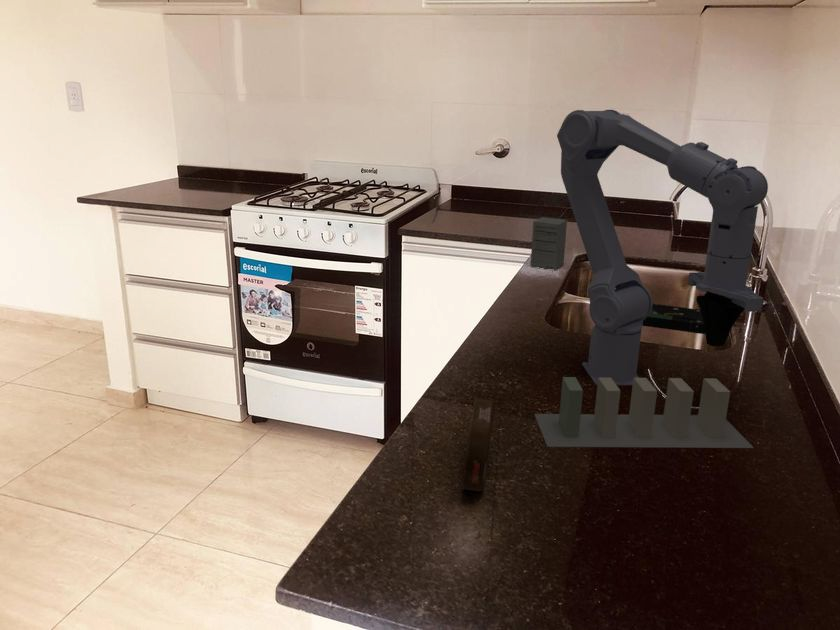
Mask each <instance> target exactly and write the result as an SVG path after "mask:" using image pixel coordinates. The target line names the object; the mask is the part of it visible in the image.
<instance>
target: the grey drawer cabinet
mask: <svg viewBox="0 0 840 630" xmlns="http://www.w3.org/2000/svg"><path fill="white" fill-rule="evenodd" d="M567 224H568V220H567V219H563V218H551V217H544V216H543V217H540V218H538V219H536V220H534V221H533V224H532V237H531V252H530V254H531V255H530V267H531V266H532V267H531V268H533V267H539V268H538V269H540V268H546V269H545V270H547V269H554V270H553V271H557V270H558V269H560V268H561V267H563V266H564V264H565V252H566V251H565V250H566V240H567V239H566V238H567V226H568V225H567ZM562 265H563V266H562ZM556 269H557V270H556Z"/></svg>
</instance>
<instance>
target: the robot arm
mask: <svg viewBox="0 0 840 630" xmlns="http://www.w3.org/2000/svg"><path fill="white" fill-rule="evenodd" d="M556 138H557V140H558V143H559V146H560V149H561V155H560V175H561V179H562V183H563V185H564V188H565V192H566V195H567V198H568V200H569V204H570V207H571V210H572V212H573V215H574V218H575V223H576V225H577V228H578V231H579V235H580V237H581V240H582V243H583V247H584V251H585V253H586V256H587V260H588V262H589V265H590V268H591V271H592V275H593V276H592V278H591V281H590V282H589V285H588V287H587V294H588V297H589V308H588V309H589V315H590V318H591V321H592V323H594V325H593V327H592V329H591V331H590V341H589V350H588V351H589V352H588V361H583V362H582V367H583V368H584V370H585V371H586V373H587V374H588V376H589V377H590V378H591V380H592V382H593V383H594V385H596V386H597V385H598V377H605V378H612V380H613V381H614V382H615V384H616V385H617V386H633V378H640V376H639V375H638V374H637V371H638V370H637V369H638V364H639V363H638V362H639V354H640V347H641V337H642V331H643V330H642V329H643V327H644V326H643V319H644V318H646V317H647V316H648V315H649V314H650V312H651V310H652V306H653V304H654V301H653V297H652V293H651V292H650V291H649V290H648V288H647V287H646V286H645V285H644V284H643V282H642V280H641V278H640V275H639V274H638V272H636V271H635V270H634V269H632V268H631V267H630V266H628V264H627V261H626V258H625V255H624V252H623V249H622V246H621V243H620V240H619V237H618V233H617V230H616V228H615V225H614V221H613V218H612V215H611V213H610V209H609V207H608V203H607V200H606V197H605V194H604V191H603V188H602V185H601V182H600V179H599V177H598V175H599V174H598V173H599V172H600V170H601V168H602V166H603V164H604V163H605V161H607V159H608V158H609V157H610V156H611V155H612V154H613V153H614V152H615V151H616V150H617V148H618V147H620V146H623V147H626V148H628V149H630V150H632V151H635V152H636V153H639V154H640V155H643V156H645V157H647V158H649V159H651V160H654V161H655V162H658V163H660V164H662V165H664V166H666V168H667V171H668V175H669V178H670V179H672V180H674V181H675V182H677V183H679V184H681V185H682V186H685V187H687V188H688V189H691V190H692V191H694V192H695V193H697V194H700V195H701V196H703V197H705V198H707V200H708V201H709V204H710V205H711V207H712V215H711V216H712V217H711V221H710V229H709V230H710V231H709V237H708V243H707V245H708V246H707V250H706V251H707V252H706V257H705V265H704V272H702V271H695V272H694V271H692V272H689V273H688V281H687V285H689V286H690V287H695V289H696V290H698V291H700V292H705V293H704V295H697V296H696V300H695V301H696V302H697V304H698V307H699V309H700V310H701V313H702V316H703V321H704V327H705V334H704V335H705V340H706V344H707V345H709V346H710V347H721V346H722V347H723V346H724V345H725V343H726V341H727V339H728V337H729V335H730V332H731V330H732V328H733V326H734V325H735V323H736V321H737V320H738V318H739V317H740V316H741V315H742V313H744V311H746V312H748V313H751V312H752V313H754V312H756V313H757V312H762V310H763V304H764V303H763V302H764V297H762V296H760V295H758V294H756V292H755V291H754V290H752V289H750V287H748V285H747V280H748V273H749V269H750V268H749V267H750V263H751V261H750V260H751V256H752V249H753V248H752V247H753V242H754V237H755V229H756V222H757V221H756V220H757V215H758V209H759V206H758V205H760V204H761V203H762V202H763V201H764V200H765V199H766V197H767V195H768V190H769V184H768V180H767V178H766V176H765V175H764V173H762V171H760V170H758V169H757V168H756V167H755V166H752V165H746V166H740V167H739V166H738V165H737V164H738V160H736V159H734V158H732V157H730V158H725V157H723V156H721V155H719V154H717V153H715V152H712V151H711V150H708V149H709V147H710V146H709V144H707V143H705V142H703V141H698V142H696V143H695V142H688V143H686V144H683V145H679V144H678V143H676V142H674V141H672V140H671V139H668V138H667V137H665V136H664V135H661V134H660V133H658V132H657V131H655V130H653V129H651V128H649V127H648V126H646V125H645V124H643V123H641V122H639V121H637V120H636V119H635V118H633V117H631V116H630V115H627V114H624V113H620V112H619V111H617V110H616V109H615V110H614V109H604V110H584V109H575V110H573V111H571V112H569V113H568V114H567V115H566V117H565V118H564V120H563V122H562V123H561V126H560V127H559V129H558V132H557V133H556Z"/></svg>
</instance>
